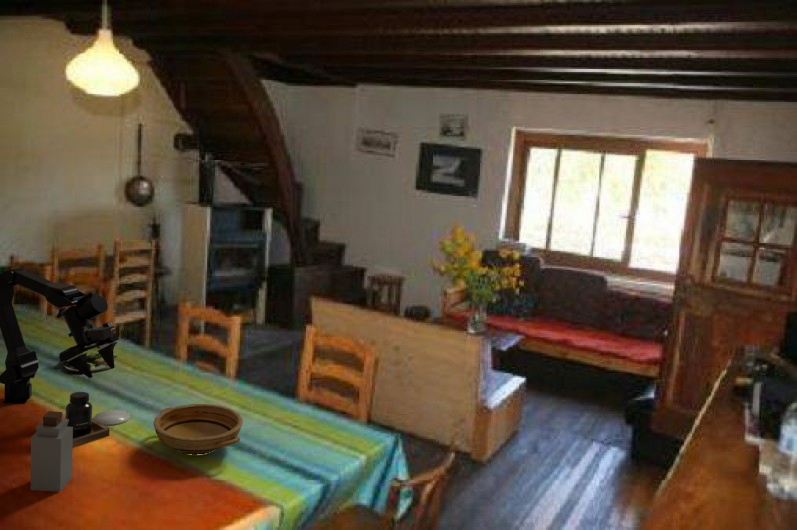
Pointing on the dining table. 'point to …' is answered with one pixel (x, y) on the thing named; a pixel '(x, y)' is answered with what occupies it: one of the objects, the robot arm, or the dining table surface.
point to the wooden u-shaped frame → (92, 434)
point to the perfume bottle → (51, 453)
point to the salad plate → (92, 362)
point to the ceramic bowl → (198, 427)
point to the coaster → (112, 417)
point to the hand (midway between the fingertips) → (102, 372)
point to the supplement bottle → (79, 414)
